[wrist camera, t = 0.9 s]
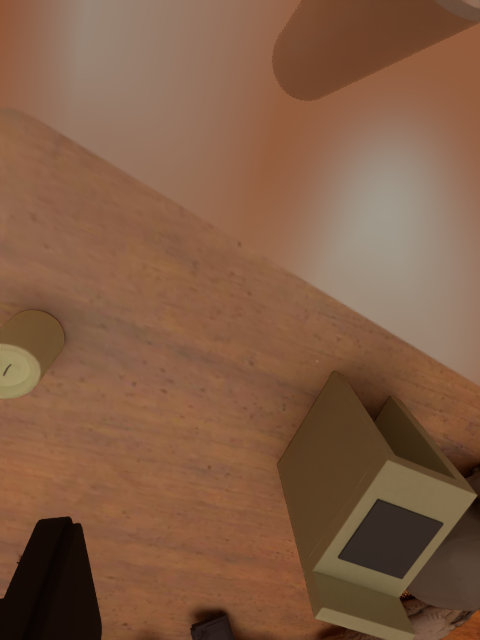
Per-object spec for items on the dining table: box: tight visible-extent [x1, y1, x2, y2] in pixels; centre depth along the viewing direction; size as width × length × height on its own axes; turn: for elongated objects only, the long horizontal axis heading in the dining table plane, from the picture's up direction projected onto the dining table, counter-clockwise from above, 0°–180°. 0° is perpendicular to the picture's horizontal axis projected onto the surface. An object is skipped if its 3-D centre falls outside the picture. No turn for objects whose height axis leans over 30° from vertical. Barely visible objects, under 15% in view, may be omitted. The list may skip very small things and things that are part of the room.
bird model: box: [323, 598, 477, 640], centre depth 55 cm, size 29×6×5 cm, turn 107°
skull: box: [406, 465, 480, 611], centre depth 46 cm, size 12×18×12 cm, turn 119°
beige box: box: [277, 371, 477, 640], centre depth 39 cm, size 12×8×17 cm, turn 154°
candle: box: [0, 310, 65, 399], centre depth 38 cm, size 5×5×8 cm
